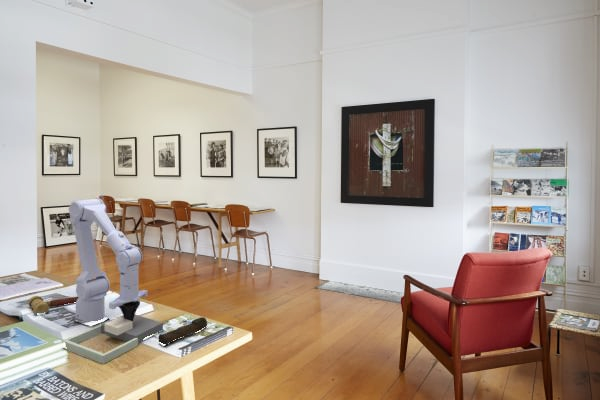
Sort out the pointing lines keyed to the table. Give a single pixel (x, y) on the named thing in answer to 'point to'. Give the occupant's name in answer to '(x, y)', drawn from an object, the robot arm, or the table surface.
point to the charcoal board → (137, 329)
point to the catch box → (92, 354)
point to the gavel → (48, 303)
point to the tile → (118, 326)
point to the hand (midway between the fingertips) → (128, 322)
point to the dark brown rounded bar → (183, 330)
